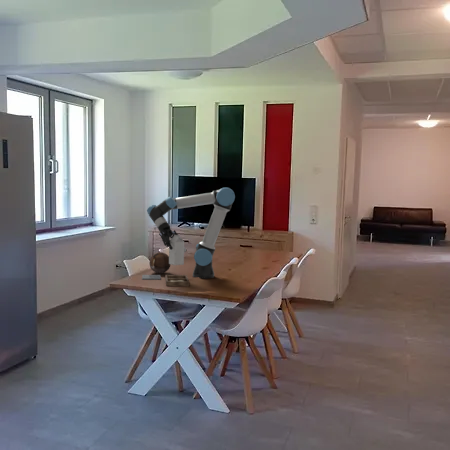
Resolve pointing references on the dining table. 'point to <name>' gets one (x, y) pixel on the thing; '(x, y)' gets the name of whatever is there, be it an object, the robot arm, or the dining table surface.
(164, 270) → the wooden sphere
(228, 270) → the dining table surface
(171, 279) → the walnut rack
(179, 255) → the milk carton
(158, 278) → the slate tile
